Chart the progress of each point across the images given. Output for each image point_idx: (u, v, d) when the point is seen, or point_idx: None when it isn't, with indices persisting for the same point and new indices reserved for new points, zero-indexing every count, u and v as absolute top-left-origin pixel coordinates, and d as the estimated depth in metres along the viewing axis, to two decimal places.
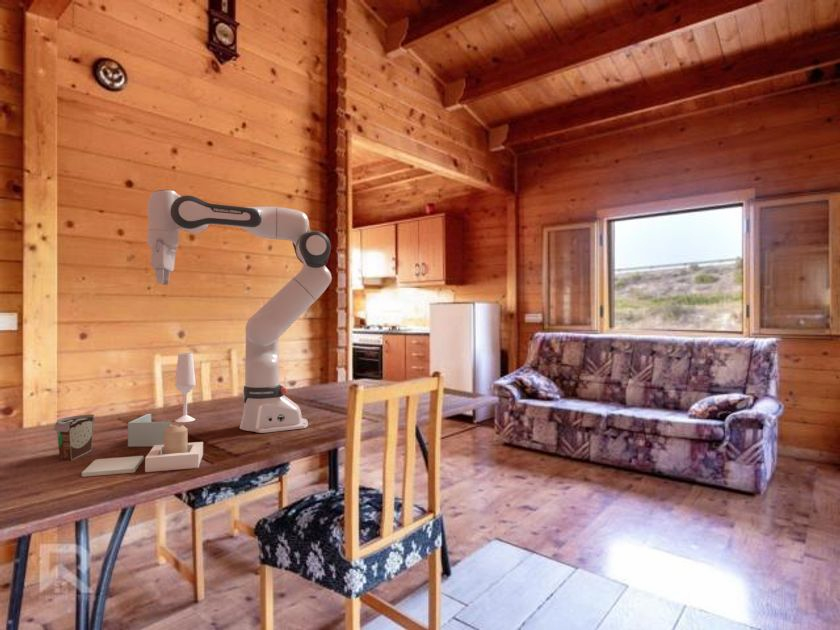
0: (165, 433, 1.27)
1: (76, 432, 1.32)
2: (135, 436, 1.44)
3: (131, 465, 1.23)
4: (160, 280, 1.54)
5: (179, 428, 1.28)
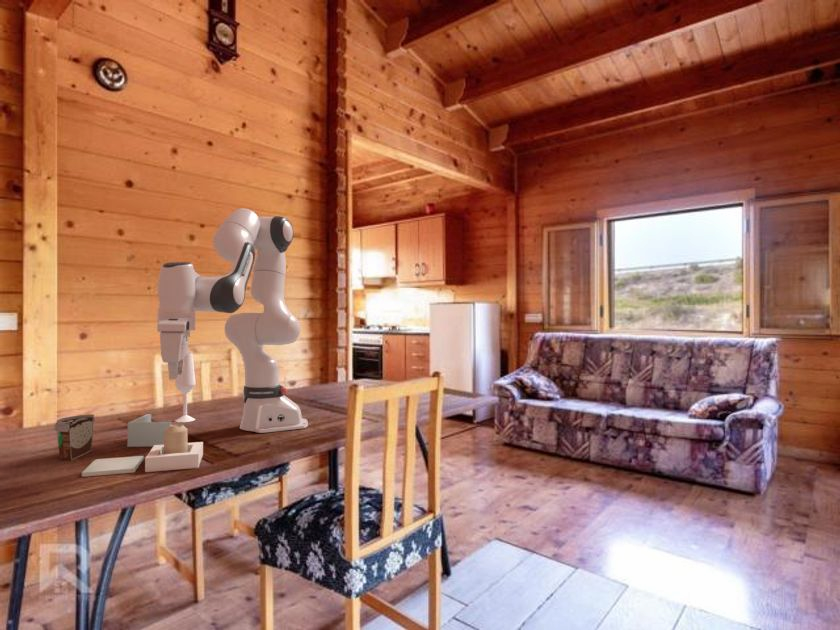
0: (165, 433, 1.27)
1: (76, 432, 1.32)
2: (135, 436, 1.44)
3: (131, 465, 1.23)
4: None
5: (179, 428, 1.28)
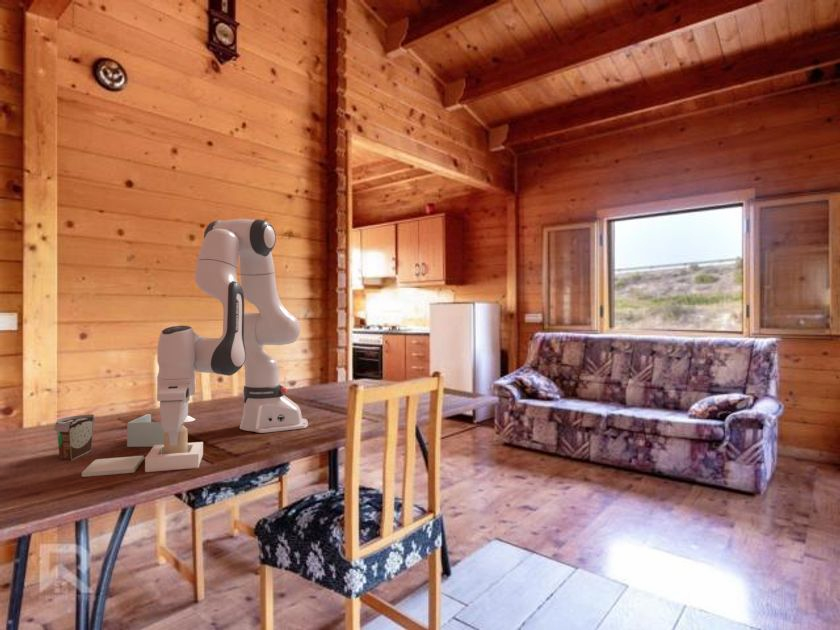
0: (165, 433, 1.27)
1: (76, 432, 1.32)
2: (134, 436, 1.44)
3: (131, 465, 1.23)
4: None
5: (179, 428, 1.28)
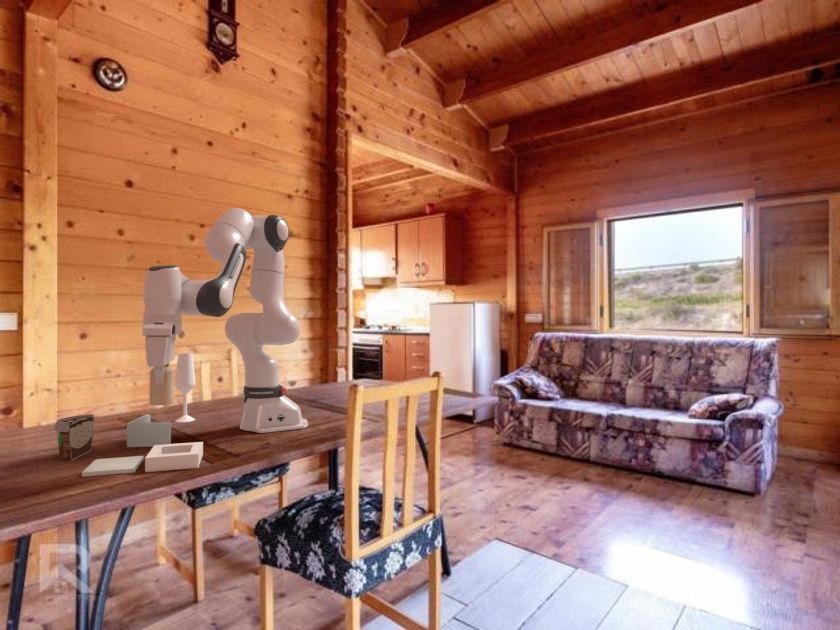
0: (151, 372, 1.25)
1: (76, 432, 1.32)
2: (134, 436, 1.43)
3: (131, 465, 1.23)
4: None
5: (165, 368, 1.26)
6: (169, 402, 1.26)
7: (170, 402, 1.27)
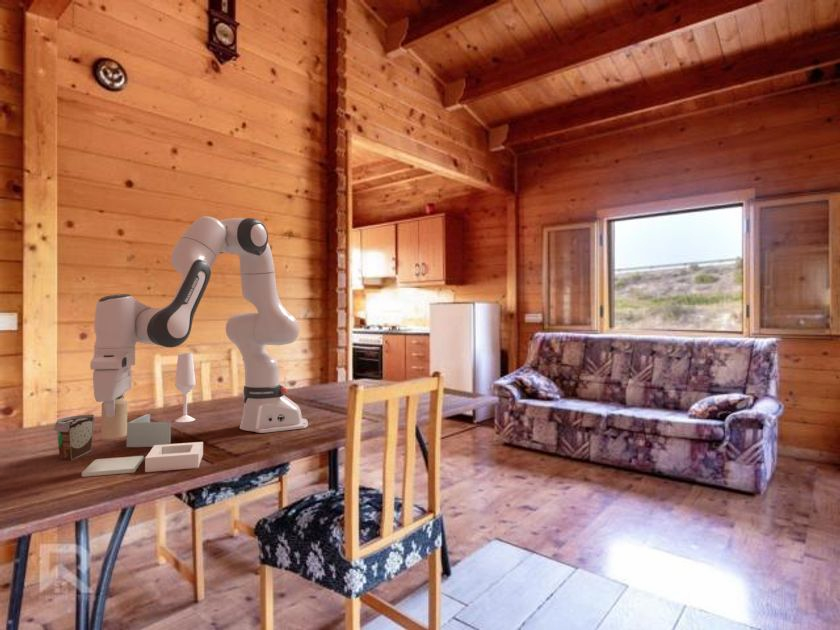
0: (102, 405, 1.22)
1: (76, 432, 1.32)
2: (134, 436, 1.43)
3: (131, 465, 1.23)
4: None
5: (117, 400, 1.23)
6: (121, 435, 1.23)
7: (122, 435, 1.24)
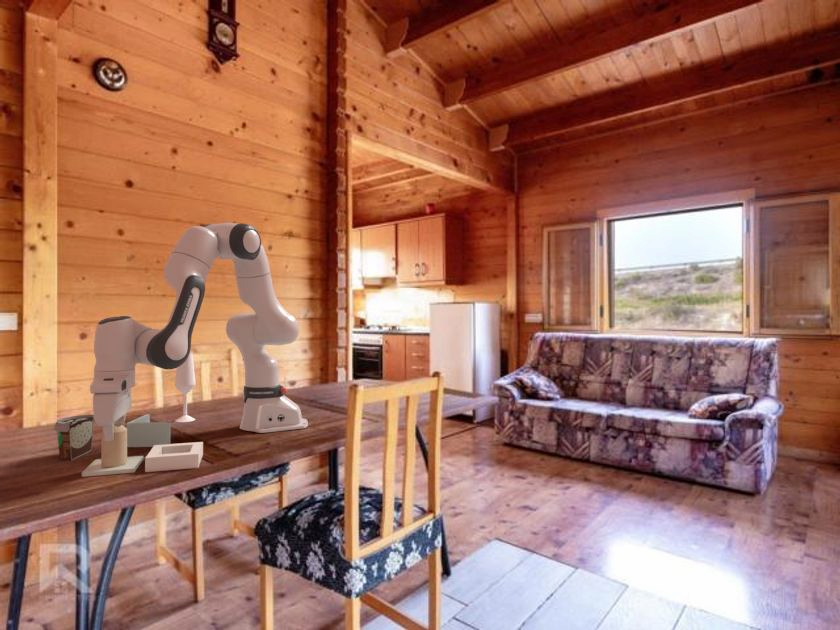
0: (102, 433, 1.22)
1: (76, 432, 1.32)
2: (134, 437, 1.43)
3: (131, 465, 1.23)
4: None
5: (117, 428, 1.23)
6: (121, 463, 1.23)
7: (122, 463, 1.23)
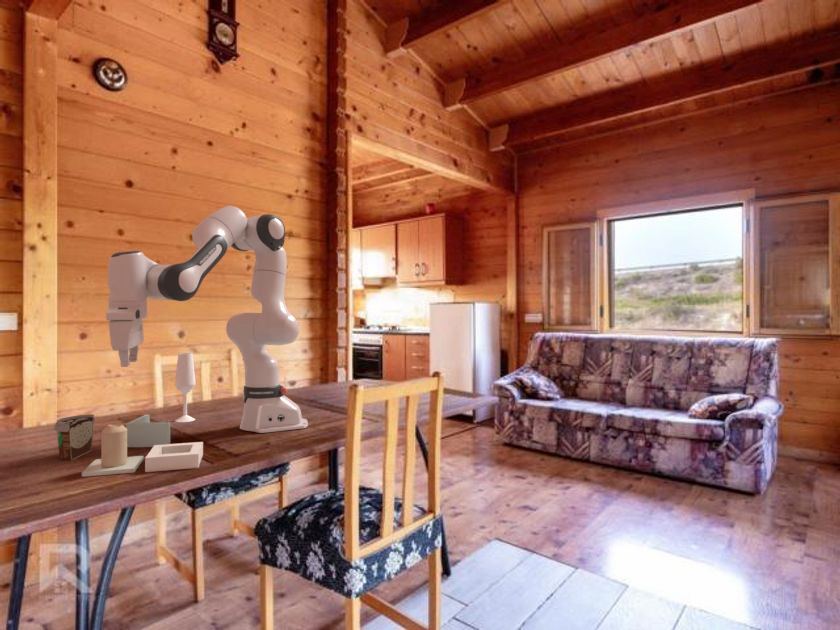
0: (102, 433, 1.22)
1: (76, 432, 1.32)
2: (133, 437, 1.43)
3: (131, 465, 1.23)
4: None
5: (117, 428, 1.23)
6: (121, 463, 1.23)
7: (122, 463, 1.23)
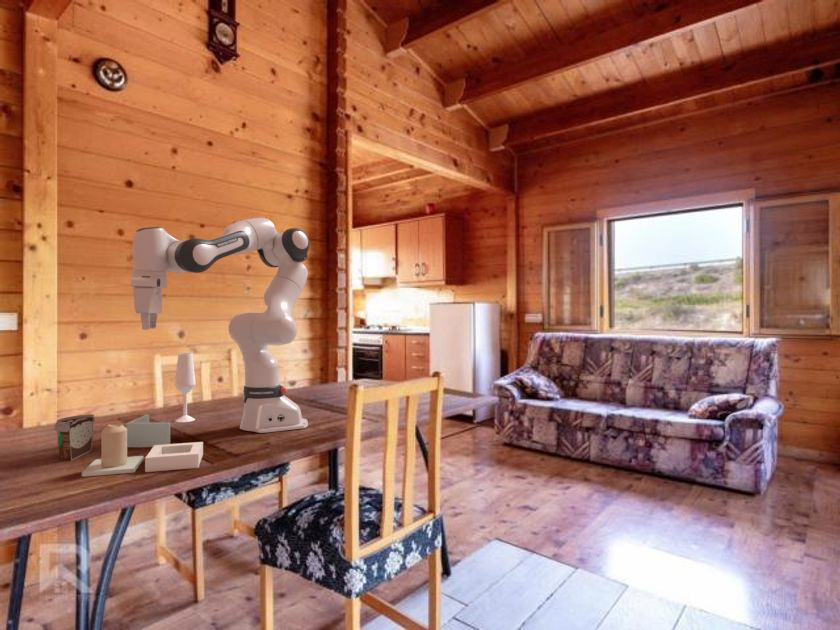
0: (102, 433, 1.22)
1: (76, 432, 1.32)
2: (133, 437, 1.43)
3: (131, 465, 1.23)
4: None
5: (117, 428, 1.23)
6: (121, 463, 1.23)
7: (122, 463, 1.23)
